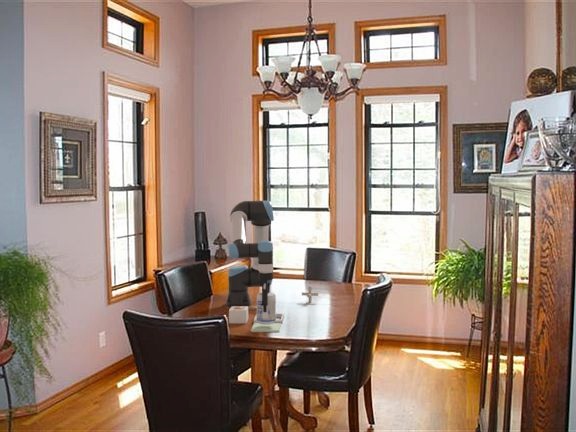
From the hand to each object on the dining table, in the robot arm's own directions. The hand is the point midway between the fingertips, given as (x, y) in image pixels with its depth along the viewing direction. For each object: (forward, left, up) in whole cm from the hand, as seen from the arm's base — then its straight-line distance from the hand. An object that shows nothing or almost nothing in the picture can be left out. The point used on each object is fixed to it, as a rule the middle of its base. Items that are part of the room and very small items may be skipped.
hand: (266, 315), depth 289 cm
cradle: (-16, 0, -6) cm, 17 cm away
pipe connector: (-61, +21, -7) cm, 65 cm away
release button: (-14, -16, -4) cm, 22 cm away
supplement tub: (0, 0, -4) cm, 4 cm away
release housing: (-14, -16, -6) cm, 22 cm away
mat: (0, 0, -6) cm, 6 cm away
